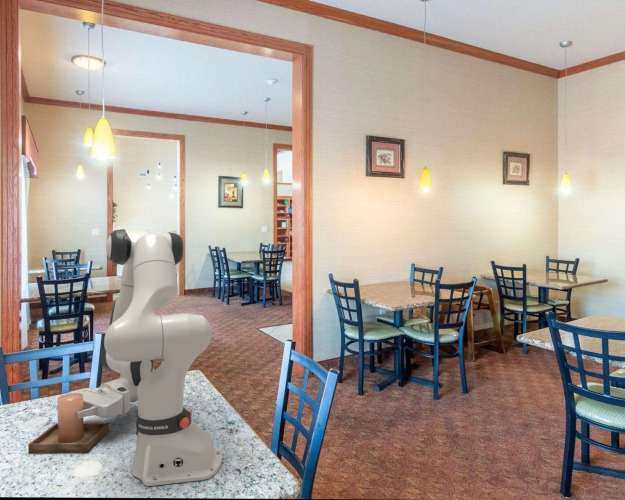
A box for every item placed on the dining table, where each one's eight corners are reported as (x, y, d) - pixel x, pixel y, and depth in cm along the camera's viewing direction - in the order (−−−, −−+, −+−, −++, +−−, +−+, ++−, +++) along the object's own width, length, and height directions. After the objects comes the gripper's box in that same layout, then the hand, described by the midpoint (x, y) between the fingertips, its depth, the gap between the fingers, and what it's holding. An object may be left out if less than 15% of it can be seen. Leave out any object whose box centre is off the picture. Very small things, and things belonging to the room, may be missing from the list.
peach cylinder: (87, 432, 127) (87, 392, 126) (76, 443, 120) (75, 401, 120) (66, 433, 127) (65, 392, 126) (53, 443, 120) (52, 401, 120)
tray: (109, 431, 130) (109, 423, 130) (88, 453, 117) (87, 444, 117) (55, 431, 130) (55, 423, 130) (28, 453, 117) (28, 444, 117)
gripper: (90, 380, 140) (46, 393, 128) (132, 391, 129) (88, 408, 117) (91, 399, 140) (47, 414, 128) (132, 412, 130) (89, 430, 118)
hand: (67, 411), depth 123 cm, fingers open, 8 cm apart
